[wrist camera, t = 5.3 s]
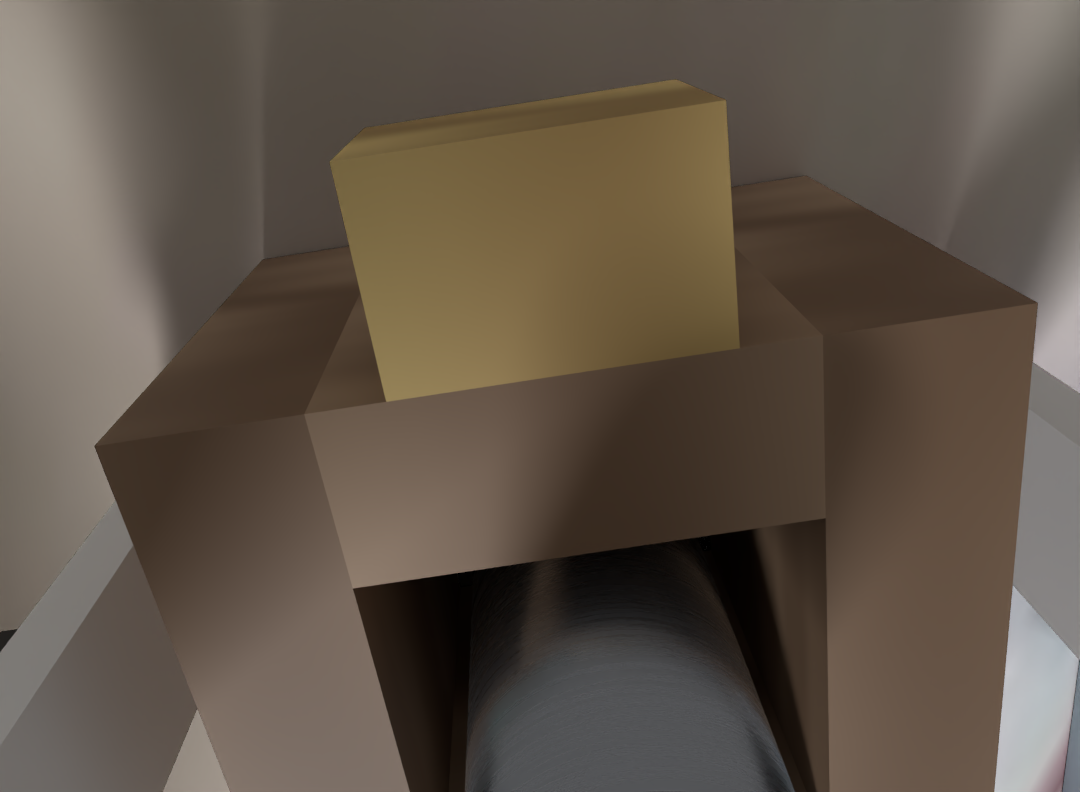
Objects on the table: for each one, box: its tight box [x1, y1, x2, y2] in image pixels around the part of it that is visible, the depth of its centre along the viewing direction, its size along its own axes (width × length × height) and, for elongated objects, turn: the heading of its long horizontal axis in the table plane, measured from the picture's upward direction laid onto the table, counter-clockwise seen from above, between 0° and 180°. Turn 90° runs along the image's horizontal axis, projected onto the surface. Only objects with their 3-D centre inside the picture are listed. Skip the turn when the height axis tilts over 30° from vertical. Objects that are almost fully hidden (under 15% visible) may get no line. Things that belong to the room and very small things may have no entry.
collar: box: [95, 79, 1038, 792], centre depth 11 cm, size 8×10×6 cm
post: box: [465, 537, 795, 792], centre depth 10 cm, size 3×3×9 cm
